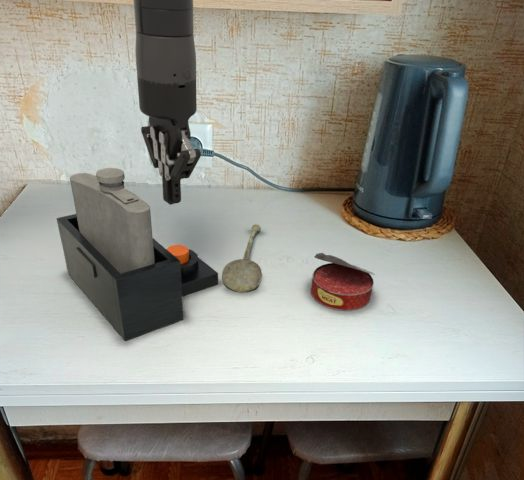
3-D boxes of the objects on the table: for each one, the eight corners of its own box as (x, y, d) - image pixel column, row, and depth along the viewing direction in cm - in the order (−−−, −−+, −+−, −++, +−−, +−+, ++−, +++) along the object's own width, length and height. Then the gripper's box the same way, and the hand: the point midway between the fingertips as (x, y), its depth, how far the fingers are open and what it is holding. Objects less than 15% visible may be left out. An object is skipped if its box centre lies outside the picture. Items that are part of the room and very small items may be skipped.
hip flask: (85, 283, 82) (61, 158, 69) (107, 274, 84) (88, 152, 72) (146, 327, 74) (132, 195, 61) (168, 316, 76) (159, 186, 64)
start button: (173, 267, 80) (173, 257, 79) (162, 257, 83) (161, 248, 81) (193, 261, 82) (193, 251, 81) (181, 252, 84) (181, 242, 83)
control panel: (170, 300, 80) (168, 278, 77) (140, 272, 85) (138, 251, 83) (218, 284, 84) (218, 263, 81) (186, 258, 90) (186, 238, 87)
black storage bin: (123, 341, 71) (114, 280, 65) (66, 275, 83) (54, 218, 77) (183, 319, 76) (180, 260, 70) (121, 259, 88) (114, 205, 82)
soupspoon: (217, 292, 83) (257, 299, 83) (218, 275, 81) (259, 282, 81) (240, 228, 100) (273, 234, 99) (241, 213, 97) (275, 218, 97)
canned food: (306, 311, 87) (295, 253, 85) (358, 297, 90) (349, 240, 87) (334, 320, 77) (322, 255, 74) (392, 304, 79) (383, 240, 77)
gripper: (116, 64, 67) (129, 191, 78) (166, 88, 59) (172, 225, 70) (167, 60, 71) (172, 182, 82) (219, 82, 63) (217, 213, 74)
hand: (172, 201), depth 76 cm, fingers closed
